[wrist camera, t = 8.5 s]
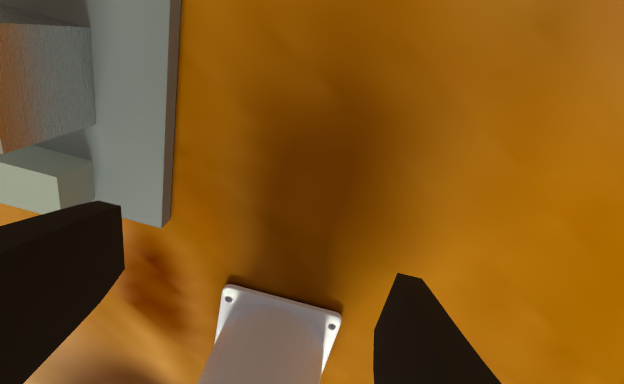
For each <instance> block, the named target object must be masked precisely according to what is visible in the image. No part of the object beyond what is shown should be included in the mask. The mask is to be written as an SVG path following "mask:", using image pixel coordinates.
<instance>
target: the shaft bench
mask: <svg viewBox="0 0 624 384" xmlns="http://www.w3.org/2000/svg"><path fill="white" fill-rule="evenodd" d="M0 4H3V5H7V6H11V7H14V8H18V9H22V10H26V11H30V12H34V13H37V14H41V15H45V16H49V17H53V18H56V19H60V20H64V21H68V22H72V23H76V24H79V25H83V26H87V27H91V39H92V57H93V75H94V93H95V111H96V124H95V125H92V126H89V127H86V128H83V129H80V130H77V131H74V132H71V133H67V134H64V135H61V136H58V137H55V138H52V139H49V140H46V141H43V142H40V143H36V144H33V145H30V146H27V147H24V148H21V149H18V150H15V151H12V152H9V153H5V154H1V153H0V203H3V204H6V205H10V206H14V207H18V208H21V209H25V210H29V211H33V212H36V213H40V214H46V213H49V212H53V211H56V210H60V209H64V208H67V207H71V206H75V205H79V204H83V203H88V202H93V201H98V200H99V201H103V202H107V203H111V204H115V205H119V206H121V214H122V218H125V219H129V220H133V221H136V222H140V223H144V224H148V225H151V226H155V227H159V228H162V227H163V226H164V225H165V224H166V223H167V222H168V221H169V220H170V209H171V189H172V170H173V150H174V131H175V111H176V92H177V72H178V53H179V33H180V14H181V0H0Z"/></svg>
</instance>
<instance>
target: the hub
mask: <svg viewBox="0 0 624 384" xmlns="http://www.w3.org/2000/svg"><path fill="white" fill-rule="evenodd" d="M95 124H96V111H95V93H94V75H93V57H92V39H91V27H87V26H83V25H79V24H76V23H72V22H68V21H64V20H60V19H56V18H53V17H49V16H45V15H41V14H37V13H34V12H30V11H26V10H22V9H18V8H14V7H11V6H7V5H3V4H0V153H1V154H5V153H9V152H12V151H15V150H18V149H21V148H24V147H27V146H30V145H33V144H36V143H40V142H43V141H46V140H49V139H52V138H55V137H58V136H61V135H64V134H67V133H71V132H74V131H77V130H80V129H83V128H86V127H89V126H92V125H95Z"/></svg>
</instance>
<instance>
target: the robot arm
mask: <svg viewBox="0 0 624 384" xmlns="http://www.w3.org/2000/svg"><path fill="white" fill-rule="evenodd" d="M124 269H125V265H124V248H123V231H122V214H121V206H119V205H115V204H111V203H107V202H103V201H99V200H98V201H93V202H88V203H83V204H79V205H75V206H71V207H67V208H64V209H60V210H56V211H53V212H49V213H46V214H42V215H39V216H35V217H32V218H28V219H25V220H21V221H18V222H14V223H10V224H7V225H3V226H0V384H23V383H24V382H25V381H26V380H27V379H28V378H29V377H30V376H31V375H32V374H33V373H34V372H35V371H36V369H37V368H38V367H39V366H40V365H41V364H42V363H43V362H44V361H45V360H46V359H47V358H48V357H49V356H50V355H51V354H52V353H53V352H54V351H55V350H56V349H57V348H58V346H59V345H60V344H61V343H62V342H63V341H64V340H65V339H66V338H67V337H68V336H69V335H70V334H71V333H72V332H73V331H74V330H75V329H76V328H77V327H78V325H79V324H80V323H81V322H82V321H83V320H84V319H85V318H86V317H87V316H88V315H89V314H90V313H91V312H92V311H93V309H94V308H95V307H96V306H97V305H98V304H99V303H100V302H101V300H102V299H103V298H104V296H105V295H106V294H107V293H108V291H109V290H110V289H111V287H112V286H113V285H114V283H115V282H116V280H117V279H118V278H119V276H120V275H121V273H122V272H123V270H124ZM228 296H229V297H231V298H229V297H228ZM341 320H342V317H341V315H340V314H339V313H337V312H334V311H330V310H327V309H323V308H319V307H315V306H312V305H308V304H304V303H300V302H297V301H293V300H289V299H285V298H282V297H278V296H274V295H270V294H267V293H263V292H259V291H255V290H252V289H248V288H244V287H240V286H237V285H233V284H227V285H226V286H225V287H224V289H223V291H222V297H221V303H220V310H219V317H218V323H217V330H216V337H215V343H214V347H213V349H212V351H211V353H210V356H209V358H208V360H207V362H206V364H205V366H204V369H203V371H202V373H201V375H200V377H199V380H198V382H197V384H320V382H321V375H322V372H323V370H324V367H325V364H326V362H327V359H328V357H329V354H330V351H331V349H332V346H333V343H334V341H335V338H336V335H337V333H338V330H339V328H340V325H341ZM330 324H334V325H330ZM373 372H374V384H501V383H500V381H499V380H498V379H497V378H496V377H495V375H494V374H493V373H492V372H491V370H490V369H489V368H488V367H487V365H486V364H485V363H484V362H483V360H482V359H481V358H480V356H479V355H478V354H477V353H476V351H475V350H474V349H473V347H472V346H471V345H470V343H469V342H468V341H467V339H466V338H465V337H464V335H463V334H462V333H461V331H460V330H459V329H458V327H457V326H456V325H455V323H454V322H453V321H452V319H451V318H450V316H449V315H448V314H447V312H446V311H445V310H444V308H443V307H442V305H441V304H440V303H439V301H438V300H437V299H436V297H435V296H434V294H433V293H432V292H431V290H430V289H429V288H428V286H427V285H426V284H425V282H424V281H423V280H422V279H421V278H417V277H413V276H408V275H404V274H400V273H397V276H396V278H395V281H394V283H393V286H392V288H391V290H390V293H389V295H388V298H387V300H386V303H385V305H384V308H383V310H382V313H381V315H380V317H379V320H378V322H377V325H376V327H375V330H374V361H373Z"/></svg>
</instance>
